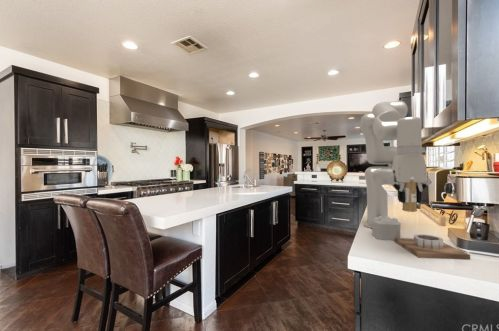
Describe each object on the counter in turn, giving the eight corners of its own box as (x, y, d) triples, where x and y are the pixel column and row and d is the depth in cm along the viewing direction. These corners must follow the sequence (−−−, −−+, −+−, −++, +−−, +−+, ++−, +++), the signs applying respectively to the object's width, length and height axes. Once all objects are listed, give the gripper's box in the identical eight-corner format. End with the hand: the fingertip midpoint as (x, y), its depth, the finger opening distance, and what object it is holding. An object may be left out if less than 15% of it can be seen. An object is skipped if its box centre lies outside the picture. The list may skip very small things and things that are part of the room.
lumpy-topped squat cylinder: (375, 239, 104) (375, 219, 104) (369, 232, 116) (369, 214, 116) (403, 241, 101) (402, 221, 101) (394, 233, 113) (393, 215, 113)
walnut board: (394, 241, 101) (394, 238, 101) (436, 242, 99) (436, 239, 99) (418, 257, 83) (418, 253, 83) (470, 259, 81) (470, 254, 81)
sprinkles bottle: (419, 212, 84) (418, 174, 84) (404, 211, 86) (403, 174, 86) (414, 210, 89) (414, 173, 88) (400, 209, 90) (399, 173, 90)
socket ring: (409, 241, 96) (409, 234, 96) (433, 242, 95) (433, 234, 95) (422, 249, 87) (422, 240, 87) (449, 249, 86) (449, 241, 86)
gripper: (428, 151, 89) (428, 200, 90) (380, 152, 92) (380, 200, 92) (441, 150, 82) (441, 204, 82) (388, 151, 85) (388, 203, 85)
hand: (409, 201), depth 87 cm, fingers closed on sprinkles bottle, 4 cm apart
